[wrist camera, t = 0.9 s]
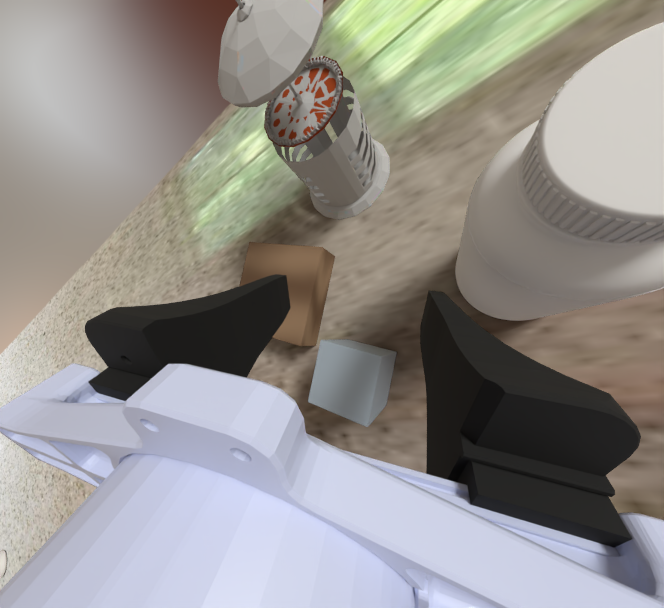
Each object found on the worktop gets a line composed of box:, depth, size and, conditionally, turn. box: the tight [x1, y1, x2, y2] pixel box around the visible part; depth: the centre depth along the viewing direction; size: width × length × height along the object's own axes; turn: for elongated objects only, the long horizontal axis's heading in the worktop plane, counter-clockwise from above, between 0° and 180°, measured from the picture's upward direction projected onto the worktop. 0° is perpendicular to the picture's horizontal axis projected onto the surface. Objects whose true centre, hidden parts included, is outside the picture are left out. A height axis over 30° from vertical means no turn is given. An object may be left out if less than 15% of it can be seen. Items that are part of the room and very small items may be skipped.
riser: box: [240, 242, 335, 346], centre depth 27 cm, size 10×10×3 cm
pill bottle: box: [455, 22, 664, 321], centre depth 12 cm, size 8×8×15 cm
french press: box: [218, 0, 390, 220], centre depth 16 cm, size 10×12×25 cm
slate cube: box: [308, 339, 397, 427], centre depth 20 cm, size 5×5×6 cm
